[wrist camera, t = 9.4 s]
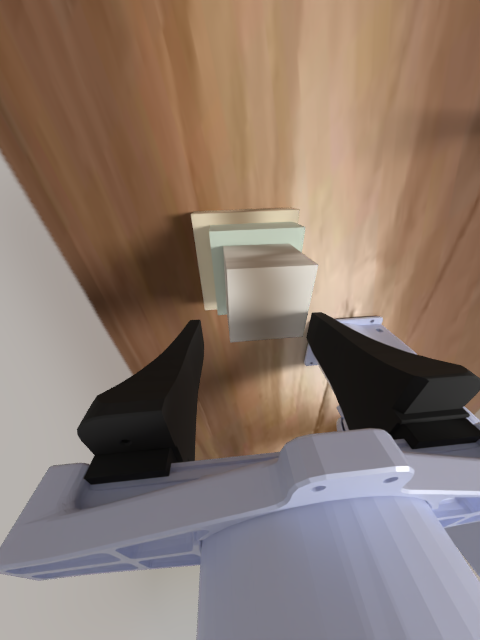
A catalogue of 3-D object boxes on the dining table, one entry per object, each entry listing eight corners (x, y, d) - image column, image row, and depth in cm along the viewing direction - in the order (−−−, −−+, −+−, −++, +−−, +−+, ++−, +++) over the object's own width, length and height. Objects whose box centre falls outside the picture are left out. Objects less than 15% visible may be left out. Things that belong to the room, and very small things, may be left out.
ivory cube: (289, 243, 15) (318, 264, 11) (281, 301, 18) (302, 336, 14) (222, 245, 14) (226, 269, 10) (226, 305, 17) (230, 342, 13)
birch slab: (288, 207, 19) (299, 209, 16) (280, 292, 24) (288, 304, 21) (194, 210, 18) (190, 214, 16) (206, 297, 23) (205, 310, 21)
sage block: (292, 221, 17) (305, 227, 14) (284, 295, 21) (293, 309, 18) (210, 225, 16) (209, 231, 14) (218, 299, 20) (217, 315, 18)
